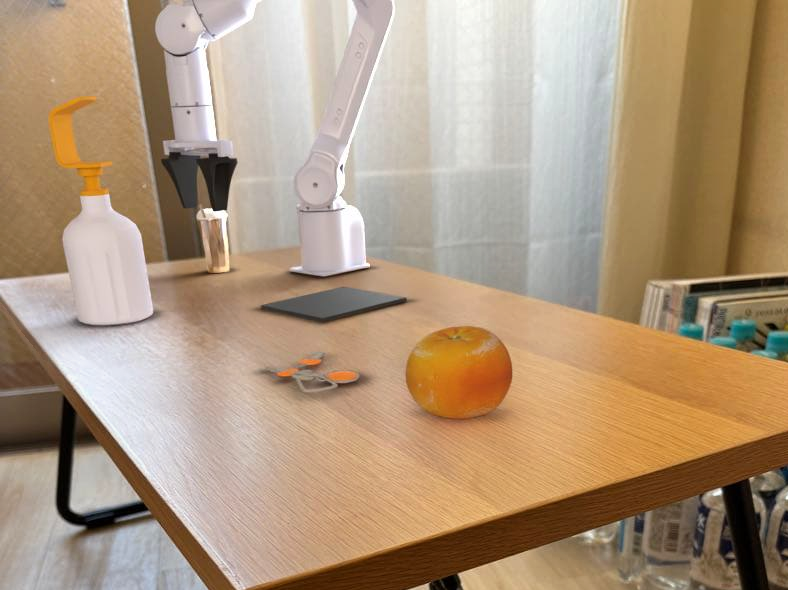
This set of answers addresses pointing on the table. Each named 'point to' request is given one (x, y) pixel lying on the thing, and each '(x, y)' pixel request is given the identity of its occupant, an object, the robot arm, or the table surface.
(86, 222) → the soap bottle
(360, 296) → the mat
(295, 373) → the key chain
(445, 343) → the fruit
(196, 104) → the robot arm
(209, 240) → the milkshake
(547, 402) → the table surface
